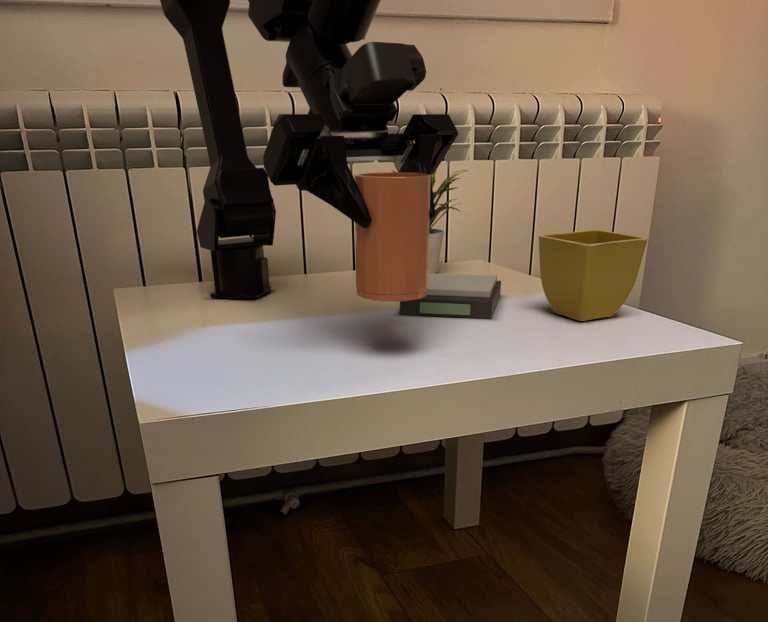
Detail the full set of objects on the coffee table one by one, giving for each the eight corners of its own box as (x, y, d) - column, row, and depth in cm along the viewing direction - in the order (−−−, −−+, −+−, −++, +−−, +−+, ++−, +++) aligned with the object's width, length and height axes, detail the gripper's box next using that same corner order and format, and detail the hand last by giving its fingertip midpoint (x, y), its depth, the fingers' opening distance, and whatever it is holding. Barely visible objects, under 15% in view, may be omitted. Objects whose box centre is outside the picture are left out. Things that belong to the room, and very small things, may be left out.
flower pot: (578, 328, 81) (588, 243, 77) (530, 312, 88) (536, 234, 84) (637, 319, 85) (649, 237, 80) (586, 304, 92) (595, 228, 87)
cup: (349, 299, 68) (345, 176, 63) (366, 285, 74) (364, 171, 69) (420, 303, 67) (423, 177, 62) (432, 288, 73) (435, 172, 68)
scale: (399, 315, 87) (399, 291, 86) (418, 293, 99) (419, 271, 97) (490, 319, 85) (492, 295, 84) (500, 296, 97) (501, 274, 95)
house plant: (475, 284, 104) (482, 157, 96) (378, 285, 103) (377, 158, 96) (464, 267, 116) (469, 153, 108) (377, 268, 116) (376, 154, 108)
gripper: (266, -2, 57) (345, 158, 55) (449, 14, 67) (524, 151, 64) (234, 112, 67) (300, 254, 64) (399, 113, 76) (462, 236, 73)
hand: (400, 222), depth 66 cm, fingers closed on cup, 7 cm apart
